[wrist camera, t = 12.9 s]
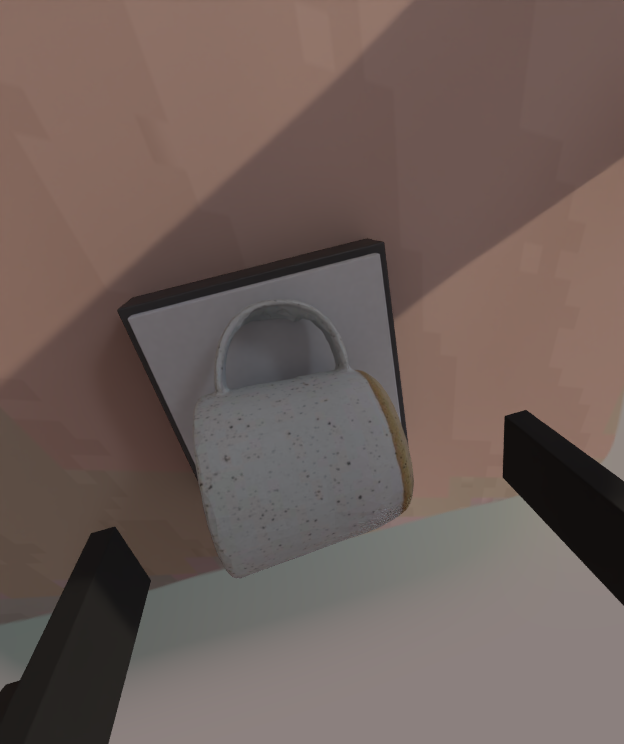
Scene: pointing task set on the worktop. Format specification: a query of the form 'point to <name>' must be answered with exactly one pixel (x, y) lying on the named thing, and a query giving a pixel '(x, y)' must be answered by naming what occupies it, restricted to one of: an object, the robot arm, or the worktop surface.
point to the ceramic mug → (296, 454)
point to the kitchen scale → (266, 328)
